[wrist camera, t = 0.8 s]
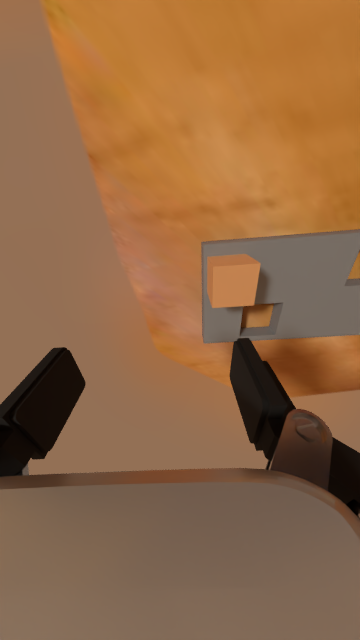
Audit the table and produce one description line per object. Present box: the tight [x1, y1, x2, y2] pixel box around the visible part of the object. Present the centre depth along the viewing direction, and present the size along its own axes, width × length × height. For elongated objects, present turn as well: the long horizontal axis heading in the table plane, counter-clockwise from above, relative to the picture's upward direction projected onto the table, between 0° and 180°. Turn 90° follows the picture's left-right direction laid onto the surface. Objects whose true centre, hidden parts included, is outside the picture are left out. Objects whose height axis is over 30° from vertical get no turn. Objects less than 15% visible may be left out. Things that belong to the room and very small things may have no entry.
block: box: [207, 254, 261, 308], centre depth 22 cm, size 5×5×5 cm
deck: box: [202, 229, 360, 343], centre depth 26 cm, size 32×16×4 cm, turn 94°
